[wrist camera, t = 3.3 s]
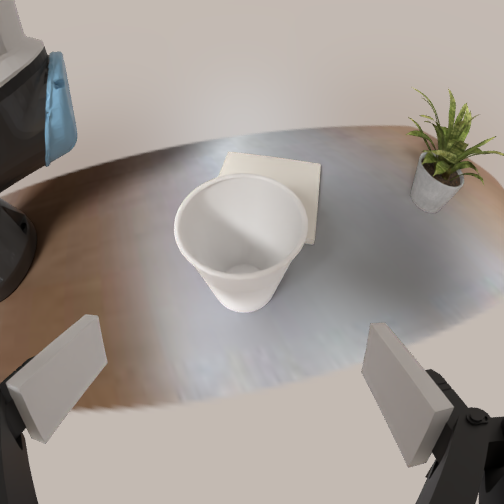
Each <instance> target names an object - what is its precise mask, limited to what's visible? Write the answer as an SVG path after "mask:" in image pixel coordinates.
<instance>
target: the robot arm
mask: <svg viewBox="0 0 504 504" xmlns="http://www.w3.org/2000/svg"><path fill="white" fill-rule="evenodd" d="M76 141H77V128H76V122H75V117H74V111H73V106H72V101H71V95H70V90H69V84H68V79H67V74H66V68H65V63H64V60H63V54H62V53H61V52H51V53H50V55H47V53H46V50H45V47H44V44H43V42H42V41H41V40H38V39H34V38H30V37H27V36H26V35H25V34H24V32H23V29H22V25H21V22H20V19H19V15H18V12H17V8H16V5H15V1H14V0H0V193H1V192H2V191H3V190H5V189H7V188H8V187H10V186H11V185H13V184H14V183H16V182H18V181H19V180H21V179H23V178H24V177H26V176H28V175H29V174H31V173H33V172H34V171H36V170H38V169H39V168H41V167H43V166H46V167H47V166H49V164H50V163H51V162H52V161H54V160H56V159H57V158H59V157H61V156H63V155H64V154H66V153H68V152H69V151H70V150H71V149H72V148H73V147H74V146H75V143H76ZM36 244H37V234H36V229H35V227H34V225H33V224H32V222H31V221H30V220H29V218H28V217H27V216H26V215H25V214H24V213H23V212H22V211H20V210H19V209H17V208H15V207H14V206H12V205H10V204H9V203H7V202H6V201H4V200H2V199H1V198H0V301H2V300H3V299H5V298H6V297H7V296H9V295H10V294H11V293H12V292H13V291H14V290H15V289H16V287H17V286H18V285H19V284H20V282H21V281H22V279H23V278H24V276H25V275H26V273H27V271H28V269H29V267H30V265H31V262H32V260H33V257H34V254H35V250H36ZM106 364H107V358H106V354H105V349H104V344H103V340H102V335H101V329H100V324H99V318H98V316H96V315H87V314H86V315H84V316H83V317H82V318H81V319H79V320H78V321H77V322H76V323H75V324H73V325H72V326H71V327H70V328H68V329H67V330H66V331H65V332H64V333H62V334H61V335H60V336H59V337H58V338H56V339H55V340H54V341H53V342H52V343H50V344H49V345H48V346H47V347H46V348H45V349H43V350H42V351H41V352H40V353H39V354H38V355H36V356H34V357H32V358H29V359H28V360H27V361H25V362H24V363H23V364H22V366H20V367H18V368H17V369H16V371H14V372H13V373H12V374H11V375H9V376H8V377H7V378H6V379H5V380H4V381H3V382H2V383H0V504H38V501H37V497H36V494H35V489H34V485H33V480H32V476H31V471H30V467H29V461H28V455H27V448H26V442H25V438H24V435H23V433H22V432H23V431H24V429H25V428H27V430H28V432H29V434H30V436H31V438H32V439H35V440H37V441H39V442H42V443H44V444H46V443H47V441H48V440H49V439H50V437H51V436H52V434H53V433H54V432H55V430H56V429H57V428H58V426H59V425H60V424H61V422H62V421H63V420H64V418H65V417H66V416H67V414H68V413H69V412H70V410H71V409H72V408H73V406H74V405H75V404H76V403H77V401H78V400H79V399H80V397H81V396H82V395H83V393H84V392H85V391H86V389H87V388H88V387H89V386H90V384H91V383H92V382H93V381H94V379H95V378H96V377H97V375H98V374H99V373H100V372H101V370H102V369H103V368H104V367H105V365H106ZM361 372H362V374H363V376H364V378H365V380H366V382H367V384H368V386H369V388H370V390H371V392H372V394H373V396H374V398H375V400H376V402H377V404H378V406H379V408H380V410H381V412H382V414H383V416H384V418H385V420H386V422H387V424H388V426H389V428H390V430H391V433H392V435H393V437H394V439H395V441H396V443H397V445H398V447H399V449H400V451H401V454H402V456H403V458H404V460H405V462H406V464H407V466H408V467H413V466H417V465H420V464H424V463H426V462H427V460H428V458H429V457H430V455H431V453H433V454H434V456H435V458H436V460H435V462H434V464H433V465H432V467H431V468H430V470H429V472H428V474H427V475H426V477H427V480H426V482H425V484H424V487H423V489H422V491H421V493H420V495H419V498H418V500H417V502H416V504H475V503H476V500H477V496H478V492H479V504H504V417H493V418H490V416H489V415H488V413H486V412H485V411H483V410H481V409H479V408H472V407H471V408H468V407H467V406H466V405H465V403H464V402H463V401H462V400H461V398H459V396H458V395H457V394H456V392H455V391H454V390H453V389H451V387H450V385H449V384H447V382H446V381H445V379H444V378H442V376H441V375H440V374H438V373H437V372H435V371H433V370H432V369H430V370H424V369H423V367H422V366H421V365H420V364H419V362H418V361H417V360H416V359H415V358H414V356H413V355H412V354H411V353H410V352H409V350H408V349H407V348H406V347H405V346H404V344H403V343H402V342H401V341H400V340H399V339H398V337H397V336H396V335H395V334H394V333H393V332H392V330H391V329H390V328H389V327H388V326H387V325H386V323H370V329H369V335H368V341H367V346H366V352H365V357H364V362H363V367H362V371H361Z"/></svg>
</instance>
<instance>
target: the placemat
mask: <svg viewBox="0 0 504 504" xmlns="http://www.w3.org/2000/svg"><path fill="white" fill-rule="evenodd" d="M320 167H321V164H317V163H311V162H305V161H298V160H292V159H285V158H278V157H270V156H262V155H254V154H245V153H236V152H228V154H227V156H226V158H225V161H224V163H223V166H222V168H221V171H220V173H219V176H218V177H220V176H224V175H229V174H238V173H248V174H257V175H262V176H266V177H269V178H271V179H274V180H276V181H278V182H280V183H282V184H284V185H285V186H287V187H288V188H289V189H290V190H292V191H293V192H294V193H295V194H296V196H297V197H298V198H299V199H300V201H301V202H302V204H303V206H304V208H305V210H306V214H307V218H308V233H307V237H306V241H305V244H311V245H313V244H314V241H315V232H316V220H317V209H318V196H319V182H320Z"/></svg>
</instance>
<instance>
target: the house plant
mask: <svg viewBox="0 0 504 504" xmlns="http://www.w3.org/2000/svg"><path fill="white" fill-rule="evenodd" d="M415 90H416V89H415ZM448 90H449V89H448ZM417 91H418V90H417ZM418 92H420V91H418ZM420 93H421V92H420ZM449 93H450V110H449V126H448V128H446V127H441V126H440V124H438V123H439V120H438V123H437V122H436V124H437V126H436V125H434V124H433V126H434V127H435V130H436V133H437V138H438V149H439V150H436V149H435V146H434V144H433V142H432V140H431V139H430V138H429V137H428V136H427V135H426V134H424V133H423V131H422V129H421V127H420V126H419V125H418V124H417V123H416V122H415V121H414V120H412V119H411V118H410V119H411V120H412V121H413V122H414V123H415V124H416V125H417V127H418V128H419V130H420V131H411V132H409V133H407V134H409V135H413V136H418V137H422V138H423V139H424V141H425V143H426V144H427V146H428V149H429V151H427V150H424V151H422V152H424V153H422V154H421V155H420V158H419V162H418V166H417V170H416V174H415V178H414V182H413V186H412V189H411V193H410V194H411V198H412V201H413V202H414V203H415V205H416V206H417V207H419V208H420V209H421V210H423V211H425V212H428V213H437V212H438V211H440V210H441V208H442V207H443V206H444V205H445V204H446V203H447V202H448V201H449V200H450V199H451V198H452V197H453V196H454V195H455V194H456V192H457V191H458V190H459V189H460V188H461V187H462V186H463V184H464V176H463V175H472V176H475V177H477V178H478V179H480V180H481V181H482V182H483V179H482V178H481V177H480V176H479V173H478V170H477V169H476V167H475V166H474V165H473V164H472V163H471V162H469V161H463V162H460V161H461V160H463V159H465V157H466V158H468V157H467V156H468V155H470V154H473V155H478V154H490V153H496V154H500V155H503V156H504V154H503V153H501V152H497V151H483V152H482V151H481V150H480V149H479V148H478V147H480V146H482V145H484V144H485V143H487V142H489V141H490V140H492V139H493V138H495V137H496V136H495V137H492V138H490V139H487V140H484V141H483V142H481V143H479V144H477V145H475V146H474V147H472V148H469V149H467V150H465V149H466V147H467V146H468V144H466V143H464V140H465V138H466V136H467V134H468V132H469V129H470V126H471V120H472V119H473V118H474V117H473V118H472V119H471V112H470V113H469V111H468V106H467V103H466V104H464V106H463V107H462V109H461V111H460V113H459V115H458V116H457V119H456V121H455V123H454V117H455V109H456V103H455V100H454V97H453V95H452V93H451V91H450V90H449ZM421 94H422V95H424V94H423V93H421ZM424 96H425V95H424ZM425 97H426V96H425ZM426 98H427V97H426ZM427 99H428V98H427ZM428 100H429V99H428ZM427 102H428V101H427ZM429 102H430V103H431V101H430V100H429ZM430 103H429V104H430ZM431 105H432V106H433V104H432V103H431V104H430V106H431ZM432 106H431V107H432ZM466 107H467V108H466ZM433 108H434V106H433V107H432V109H433ZM433 110H435V108H434V109H433ZM465 111H466V113H465ZM434 113H436V110H435V111H434ZM464 114H465V115H464ZM436 115H437V114H435V116H436ZM421 116H423V117H426V118H429V119H432V118H431V117H429V116H425V115H421ZM463 116H464V119H463V121H461V120H462V118H463ZM436 119H438V117H437V118H436ZM432 120H433V119H432ZM425 122H428V121H425ZM429 123H430V122H429ZM453 125H454V127H453ZM407 134H406V135H407ZM426 139H427V140H429V141H430V142H431V143H432V145H433V147H434V149H435V150H433V151H431V149H430V147H429V145H428V143H427V140H426ZM478 152H479V153H478ZM474 153H476V154H474ZM473 155H471V156H473ZM469 157H470V156H469ZM469 167H471V168H473V169H475V170H476V171H477V173H478V175H477V174H474V173H464V174H463V173H462V172H461V170H460V169H463V168H469ZM483 185H484V182H483Z"/></svg>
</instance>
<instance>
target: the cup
mask: <svg viewBox="0 0 504 504" xmlns="http://www.w3.org/2000/svg"><path fill="white" fill-rule="evenodd" d="M307 233H308V218H307V214H306V210H305V208H304V206H303V204H302V202H301V201H300V199H299V198H298V197H297V196H296V194H295V193H294V192H293V191H292V190H290V189H289V188H288V187H287V186H285V185H284V184H282V183H280V182H278V181H276V180H274V179H271V178H269V177H266V176H262V175H257V174H248V173H238V174H229V175H224V176H220V177H217V178H214V179H211V180H209V181H207V182H205V183H203V184H202V185H200V186H198V187H197V188H196V189H194V190H193V191H192V192H191V193H190V194H189V195H188V196H187V197H186V198H185V199H184V201H183V202H182V204H181V205H180V207H179V209H178V211H177V214H176V218H175V221H174V234H175V239H176V243H177V245H178V247H179V249H180V252H181V253H182V254H183V255H184V257H185V258H186V259H187V260H188V261H189V262H190V263H191V264H192V265H194V266H195V268H196V269H197V271H198V272H199V273H200V275H201V276H202V278H203V279H204V280H205V282H206V283H207V284H208V286H209V287H210V289H211V290H212V292H213V293H214V294H215V296H216V297H217V299H218V300H219V301H220V302H221V303H222V305H224V306H225V307H226V308H228V309H230V310H232V311H236V312H241V313H247V312H253V311H256V310H258V309H260V308H262V307H264V306H265V305H266V304H267V303H268V302H269V301H270V300H271V298H272V296H273V294H274V292H275V290H276V289H277V287H278V285H279V283H280V281H281V279H282V278H283V276H284V274H285V272H286V270H287V268H288V267H289V265H290V263H291V261H292V260H293V259H294V258H295V257H296V256H297V254H298V253H299V252H300V251H301V249H302V247H303V245H304V243H305V241H306V237H307Z"/></svg>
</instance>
